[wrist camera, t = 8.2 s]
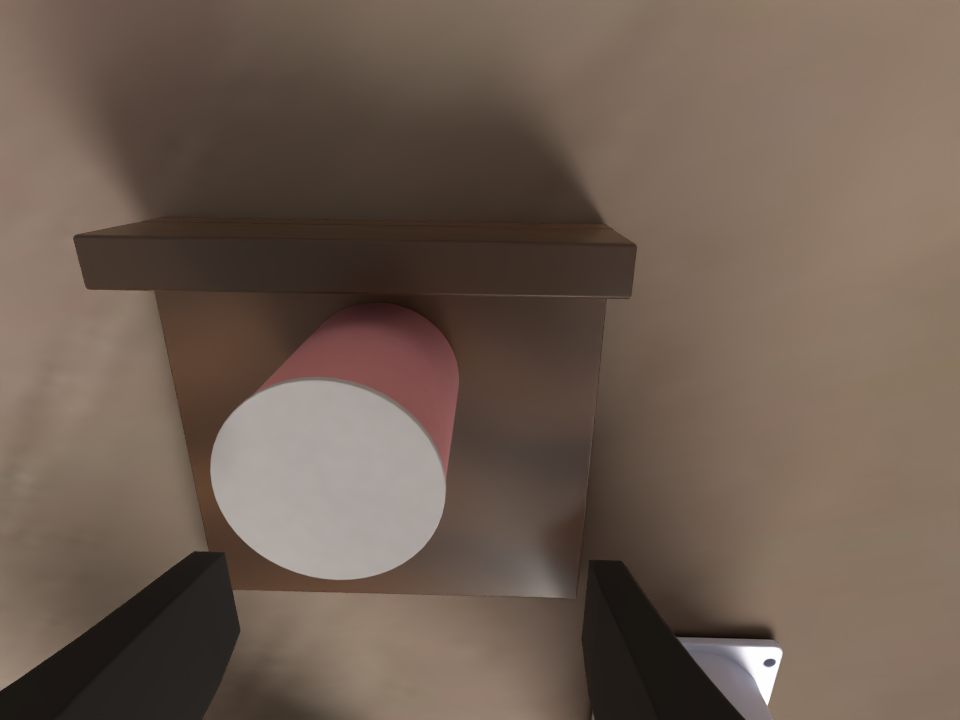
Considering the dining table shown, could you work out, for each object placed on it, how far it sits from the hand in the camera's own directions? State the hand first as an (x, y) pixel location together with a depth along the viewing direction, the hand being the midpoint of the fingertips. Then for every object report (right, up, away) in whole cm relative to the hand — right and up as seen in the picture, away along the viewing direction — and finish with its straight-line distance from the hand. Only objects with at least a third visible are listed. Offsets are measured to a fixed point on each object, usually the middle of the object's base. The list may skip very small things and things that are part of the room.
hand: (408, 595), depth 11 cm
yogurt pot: (-2, +4, +8) cm, 9 cm away
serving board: (-2, +2, +10) cm, 11 cm away
